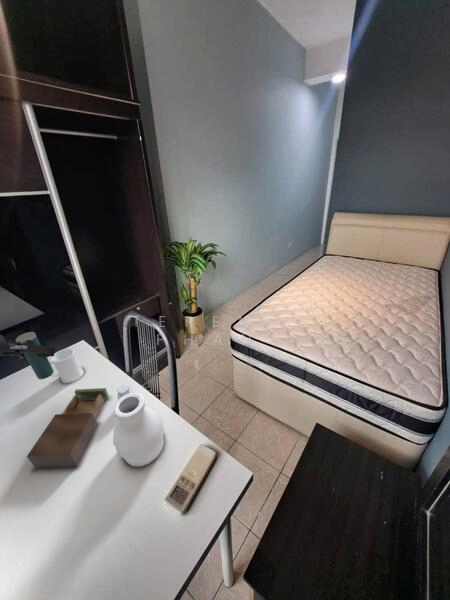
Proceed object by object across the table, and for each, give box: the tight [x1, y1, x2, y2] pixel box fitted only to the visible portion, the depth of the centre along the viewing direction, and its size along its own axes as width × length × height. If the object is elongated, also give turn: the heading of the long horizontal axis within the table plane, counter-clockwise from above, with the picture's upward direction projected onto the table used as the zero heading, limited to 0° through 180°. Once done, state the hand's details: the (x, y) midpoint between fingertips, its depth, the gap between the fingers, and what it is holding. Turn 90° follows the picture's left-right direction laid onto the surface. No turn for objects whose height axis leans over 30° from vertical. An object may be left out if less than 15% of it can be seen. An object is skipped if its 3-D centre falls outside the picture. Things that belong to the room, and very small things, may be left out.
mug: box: [49, 348, 84, 384], centre depth 103 cm, size 12×8×12 cm
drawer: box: [61, 387, 110, 420], centre depth 88 cm, size 14×11×5 cm
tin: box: [15, 331, 54, 380], centre depth 81 cm, size 5×5×16 cm
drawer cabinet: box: [26, 413, 99, 469], centre depth 77 cm, size 14×13×7 cm
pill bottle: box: [116, 383, 134, 401], centre depth 89 cm, size 5×5×9 cm
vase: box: [112, 392, 165, 467], centre depth 73 cm, size 14×14×20 cm
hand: (45, 352), depth 85 cm, fingers closed on tin, 5 cm apart
